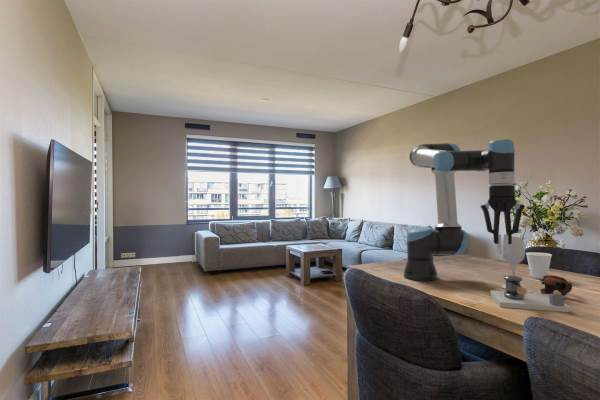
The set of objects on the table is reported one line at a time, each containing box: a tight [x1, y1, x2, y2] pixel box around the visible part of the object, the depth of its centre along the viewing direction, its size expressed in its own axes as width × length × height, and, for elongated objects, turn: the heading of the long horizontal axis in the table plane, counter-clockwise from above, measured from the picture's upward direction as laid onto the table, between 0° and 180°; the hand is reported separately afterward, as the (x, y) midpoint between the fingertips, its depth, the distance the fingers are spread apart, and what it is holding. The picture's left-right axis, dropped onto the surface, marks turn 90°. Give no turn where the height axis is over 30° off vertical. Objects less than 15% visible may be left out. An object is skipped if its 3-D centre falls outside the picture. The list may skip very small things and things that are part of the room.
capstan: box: [503, 274, 527, 299], centre depth 115 cm, size 14×6×7 cm, turn 161°
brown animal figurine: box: [539, 274, 573, 297], centre depth 125 cm, size 12×10×8 cm
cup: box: [525, 251, 553, 280], centre depth 152 cm, size 10×10×11 cm
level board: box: [489, 290, 571, 313], centre depth 117 cm, size 20×15×6 cm
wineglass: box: [501, 236, 527, 290], centre depth 135 cm, size 9×9×21 cm
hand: (502, 253), depth 113 cm, fingers closed
